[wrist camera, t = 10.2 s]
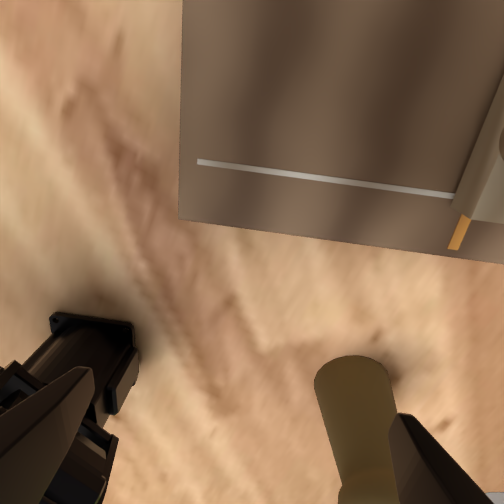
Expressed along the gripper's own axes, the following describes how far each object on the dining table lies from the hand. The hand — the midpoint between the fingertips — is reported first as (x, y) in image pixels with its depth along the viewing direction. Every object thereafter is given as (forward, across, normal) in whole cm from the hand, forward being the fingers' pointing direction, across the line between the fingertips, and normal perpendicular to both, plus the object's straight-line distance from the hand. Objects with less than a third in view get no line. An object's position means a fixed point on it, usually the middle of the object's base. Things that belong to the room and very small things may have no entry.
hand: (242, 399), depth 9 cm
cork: (+13, -9, +12) cm, 20 cm away
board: (+13, -5, -8) cm, 16 cm away
